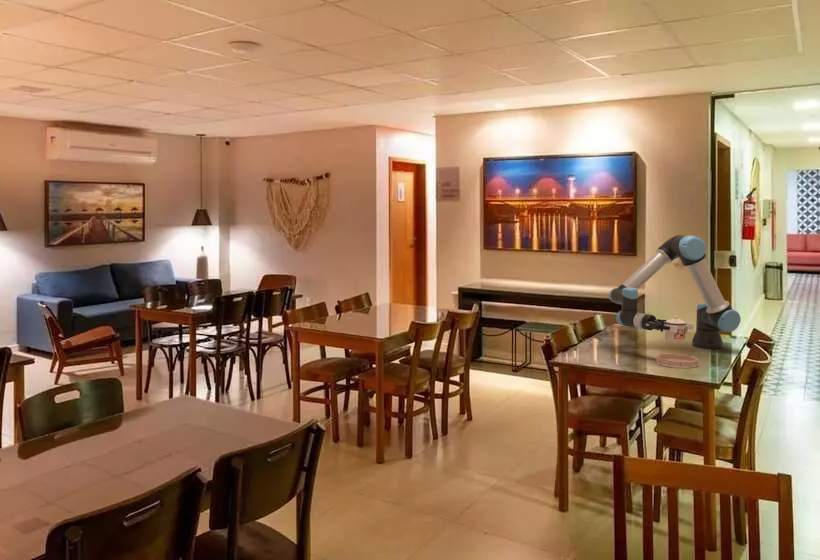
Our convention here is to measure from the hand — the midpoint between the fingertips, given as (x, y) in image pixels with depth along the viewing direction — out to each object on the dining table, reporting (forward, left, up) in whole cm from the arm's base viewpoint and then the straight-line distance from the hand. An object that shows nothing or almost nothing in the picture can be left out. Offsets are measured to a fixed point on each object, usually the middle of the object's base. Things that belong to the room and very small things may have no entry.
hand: (685, 328), depth 309 cm
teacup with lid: (0, -4, -7) cm, 8 cm away
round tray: (0, -4, -17) cm, 18 cm away
